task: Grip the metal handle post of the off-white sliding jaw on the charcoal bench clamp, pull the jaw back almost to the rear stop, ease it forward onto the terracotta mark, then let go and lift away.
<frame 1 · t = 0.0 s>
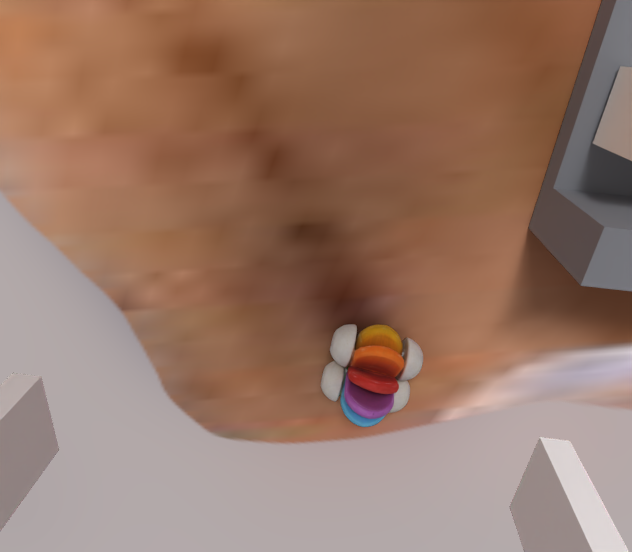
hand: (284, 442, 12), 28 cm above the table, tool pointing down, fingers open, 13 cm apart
rainbow disc rattle: (369, 355, 46), on the table
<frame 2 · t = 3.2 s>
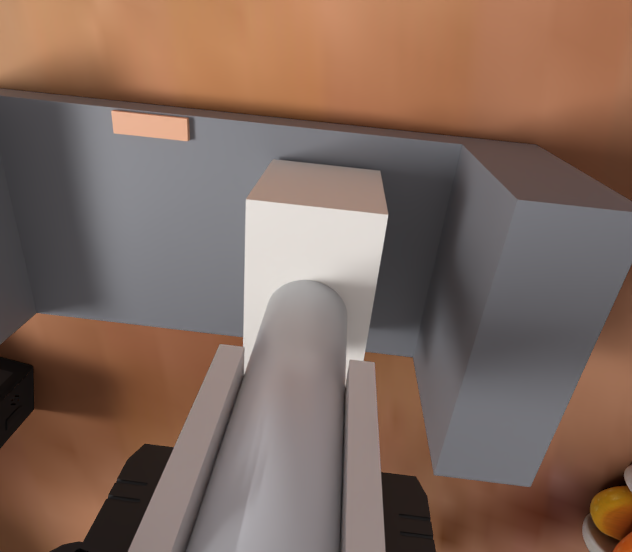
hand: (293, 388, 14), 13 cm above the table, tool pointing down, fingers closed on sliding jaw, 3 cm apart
bench clamp: (249, 227, 26), on the table
sliding jaw: (298, 363, 15), point 11 cm above the table, slide at 0.0 cm, touching gripper
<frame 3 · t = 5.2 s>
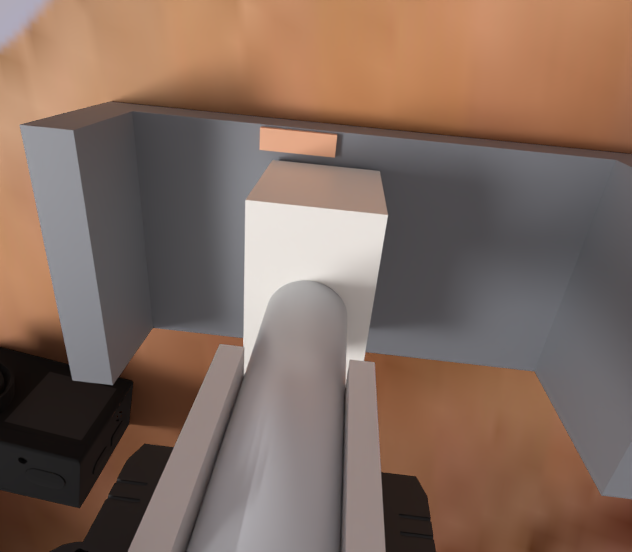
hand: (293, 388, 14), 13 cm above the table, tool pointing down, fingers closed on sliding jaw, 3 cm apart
bench clamp: (372, 241, 25), on the table
sliding jaw: (298, 364, 15), point 11 cm above the table, slide at 6.9 cm, touching gripper
digital camera: (61, 375, 32), on the table
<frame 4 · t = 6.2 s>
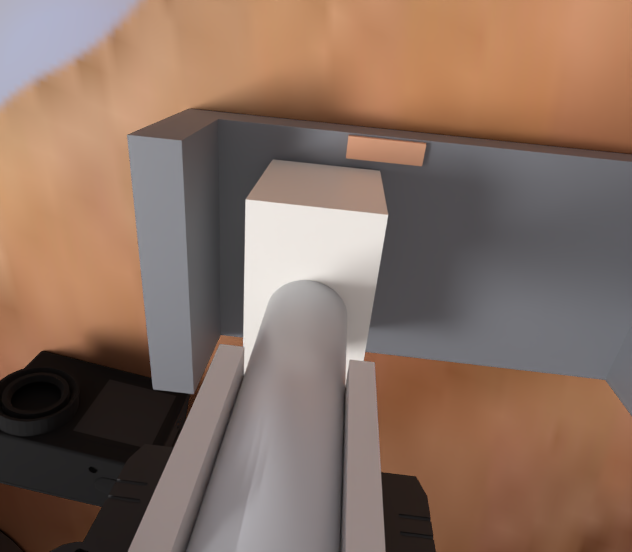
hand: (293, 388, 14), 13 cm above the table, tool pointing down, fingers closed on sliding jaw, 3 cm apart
bench clamp: (444, 249, 25), on the table
sliding jaw: (298, 363, 15), point 11 cm above the table, slide at 10.9 cm, touching gripper
digital camera: (118, 383, 32), on the table
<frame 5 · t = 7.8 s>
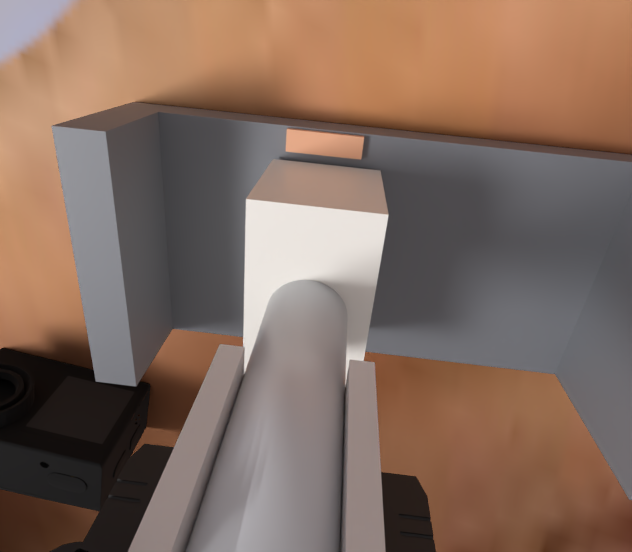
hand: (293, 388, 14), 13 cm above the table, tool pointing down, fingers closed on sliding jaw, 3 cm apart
bench clamp: (394, 243, 25), on the table
sliding jaw: (298, 363, 15), point 11 cm above the table, slide at 8.1 cm, touching gripper
digital camera: (79, 379, 32), on the table
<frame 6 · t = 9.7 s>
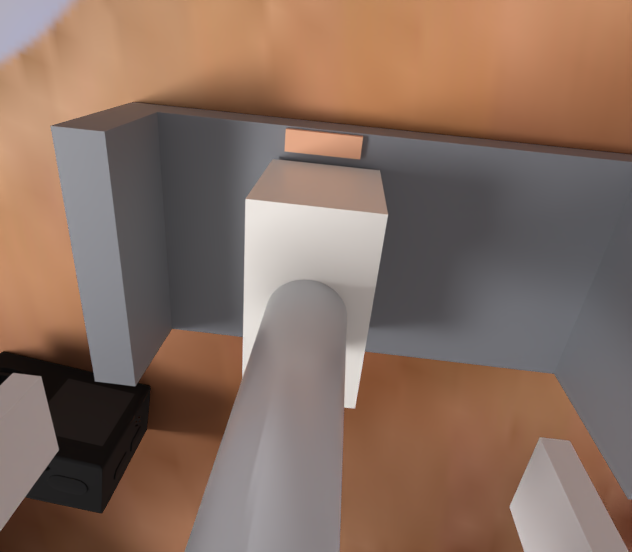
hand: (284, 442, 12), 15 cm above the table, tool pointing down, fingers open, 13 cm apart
bench clamp: (393, 243, 25), on the table
sliding jaw: (297, 363, 15), point 11 cm above the table, slide at 8.0 cm
digital camera: (79, 382, 32), on the table
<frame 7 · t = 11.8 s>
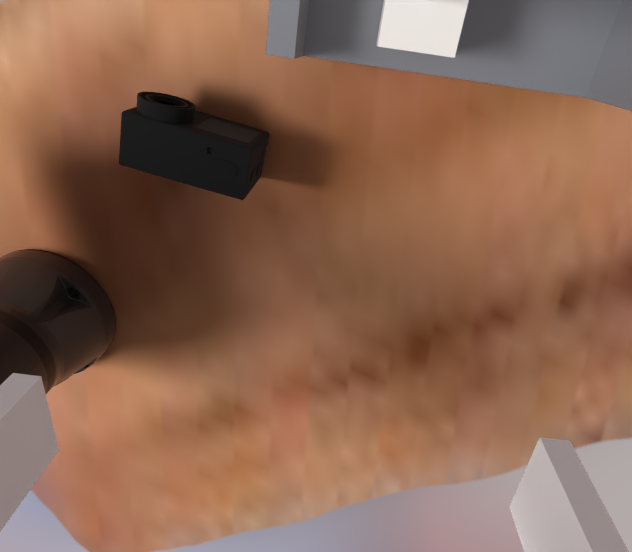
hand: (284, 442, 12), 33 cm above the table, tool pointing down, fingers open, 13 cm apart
digital camera: (212, 132, 42), on the table
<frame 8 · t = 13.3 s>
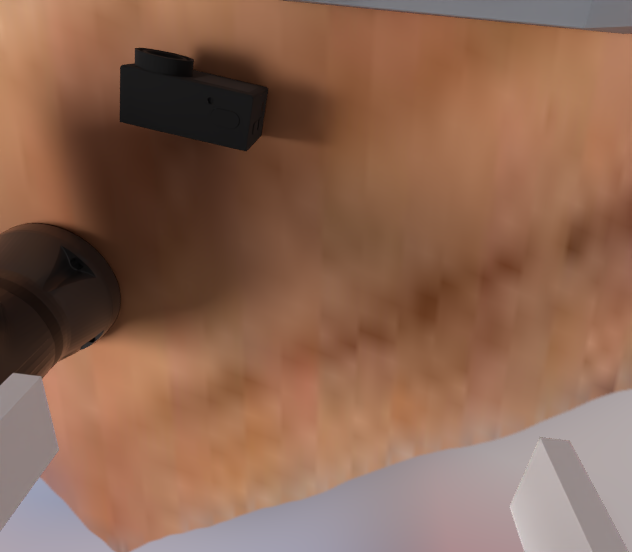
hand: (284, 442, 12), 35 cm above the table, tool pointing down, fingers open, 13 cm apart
digital camera: (211, 92, 42), on the table
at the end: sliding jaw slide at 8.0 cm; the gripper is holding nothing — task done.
